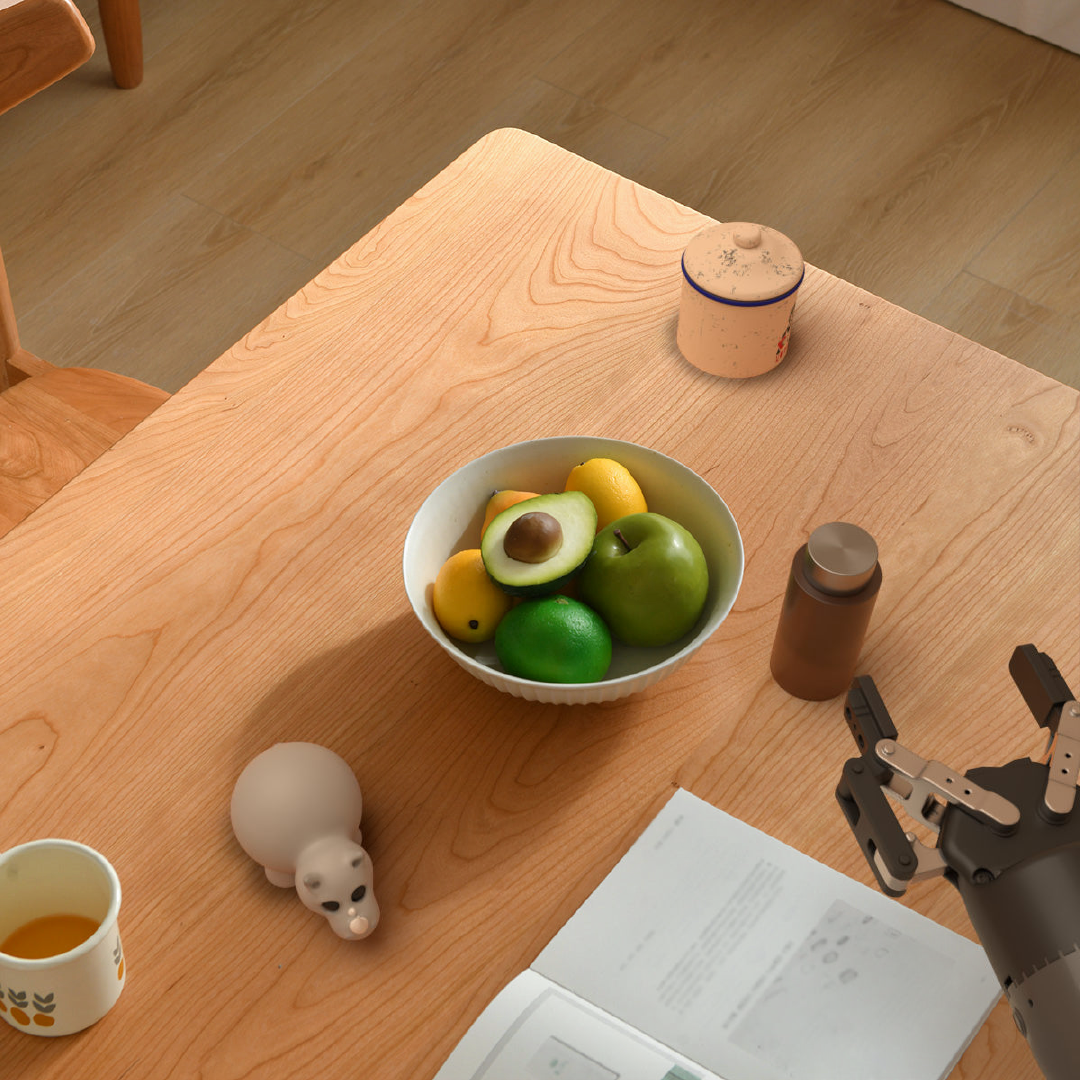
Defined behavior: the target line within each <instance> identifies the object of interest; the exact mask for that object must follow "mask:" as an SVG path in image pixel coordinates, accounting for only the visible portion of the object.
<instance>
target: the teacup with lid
mask: <svg viewBox="0 0 1080 1080" xmlns="http://www.w3.org/2000/svg"><path fill="white" fill-rule="evenodd" d="M680 265H681V271H682V282H681V292H680V300H679V301H680V303H679V312H678V320H677V321H678V322H677V331H676V342H677V347H678V349H679V351H680V353H681V354H682V356H683V358H685V359H686V360H687V361H688V362H689V363H690V364H691V365H693V366H694V367H696V368H697V369H698V370H700V371H703V372H705V373H707V374H710V375H713V376H716V377H721V378H726V379H727V378H729V379H747V378H752V377H757V376H760V375H763V374H766V373H768V372H770V371H771V370H773V369H774V368H777V366H778V365H780V363H781V362H782V361H783V360H784V358H785V356H786V355H787V352H788V347H789V341H790V335H791V331H792V325H793V319H794V315H795V308H796V304H797V299H798V293H799V288H800V287H801V285H802V283H803V281H804V278H805V273H806V272H805V271H806V267H805V262H804V257H803V255H802V253H801V251H800V249H799V248H798V246H797V245H796V244H795V243H794V241H792V239H791V238H789V237H788V236H786V235H785V234H784V233H782V232H780V231H779V230H776V229H775V228H772V227H770V226H767V225H763V224H760V223H759V224H758V223H755V222H745V221H732V222H724V223H718V224H715V225H712V226H709V227H707V228H705V229H703V230H701V231H700V232H698V233H697V234H696V235H695V236H694V237H692V239H691V240H690V241H689V242H688V243H687V245H686V247H685V248H684V250H683V253H682V256H681V259H680Z"/></svg>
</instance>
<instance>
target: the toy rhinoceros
mask: <svg viewBox="0 0 1080 1080" xmlns="http://www.w3.org/2000/svg"><path fill="white" fill-rule="evenodd" d="M362 796H363V795H362V791H361V787H360V784H359V781H358V779H357V777H356V774H355V773H354V772H353V770H352V768H351V767H350V766H349V764H348V763H347V762H346V761H345V759H343V758H342V757H341V756H340V755H339V754H337V753H336V752H334V751H333V750H331V749H329V748H327V747H325V746H322V745H321V744H318V743H313V742H307V741H290V742H289V741H288V742H276V743H274V744H273V745H272V746H271V747H270V748H267V749H265V750H264V751H262V752H260V753H259V754H258V755H256V756H255V757H254V758H253V759H251V760H250V762H249V763H248V764H247V765H246V766H245V767H244V769H243V770H242V772H241V773H240V775H239V777H238V778H237V780H236V783H235V784H234V788H233V791H232V794H231V799H230V808H229V809H230V821H231V827H232V830H233V833H234V835H235V837H236V839H237V842H238V844H239V845H240V846H241V848H242V849H243V850H244V852H245V853H246V854H247V855H248V856H249V857H250V858H251V859H252V860H254V862H256V863H257V864H259V865H260V866H262V867H264V873H265V877H266V878H267V880H268V882H270V883H271V884H272V885H273V886H275V887H278V888H281V889H288V888H294V887H295V889H296V892H297V893H296V894H297V896H298V898H299V899H300V901H301V902H302V904H303V905H304V906H305V907H306V908H307V909H308V910H310V911H311V912H314V913H316V914H318V915H321V916H323V917H325V918H326V919H327V922H328V923H329V926H330V927H331V929H332V931H333V932H334V934H336V935H337V936H338V937H339V938H341V939H344V940H346V941H347V940H348V941H360V940H363V939H366V937H368V936H370V934H372V933H373V932H374V930H375V929H376V928H377V926H378V924H379V921H380V918H381V911H380V906H379V904H378V901H377V898H376V896H375V893H374V866H373V861H372V859H371V856H370V855H369V853H368V852H367V851H366V850H365V848H363V846H362V842H363V836H362V835H363V834H362V830H361V829H360V827H359V826H360V824H361V821H362V815H363V797H362Z"/></svg>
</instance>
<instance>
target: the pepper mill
mask: <svg viewBox="0 0 1080 1080" xmlns="http://www.w3.org/2000/svg"><path fill="white" fill-rule="evenodd" d="M879 553H880V552H879V547H878V544H877V542H876V540H875V539H874V537H873V536H872V535H871V534H870V533H869V532H868V531H867V530H866V529H864V528H862V527H860V526H858V525H856V524H853V523H850V522H845V521H832V522H827V523H824V524H822V525H819V526H818V527H816V528H815V529H814V530H813V531H812V532H811V534H809V537H808V540H807V541H806V542H805V543H803V544H802V545H801V546H800V547H799V548H798V549H797V550H796V552H795V553H794V555H793V557H792V561H791V565H790V570H789V573H788V574H789V575H788V578H787V583H786V588H785V592H784V597H783V601H782V605H781V610H780V613H779V619H778V623H777V627H776V631H775V636H774V640H773V645H772V648H771V654H770V658H769V668H770V672H771V676H772V678H773V679H774V681H775V683H776V684H777V685H778V686H779V687H780V688H781V689H782V690H783V691H784V692H785V693H787V694H788V695H790V696H792V697H794V698H797V699H799V700H802V701H807V702H825V701H830V700H832V699H835V698H837V697H839V696H840V695H842V694H843V693H844V692H845V691H846V690H847V689H848V688H849V686H850V684H851V683H852V679H853V675H854V672H855V670H856V666H857V663H858V660H859V657H860V654H861V650H862V647H863V644H864V641H865V638H866V635H867V632H868V628H869V625H870V621H871V619H872V616H873V612H874V609H875V605H876V603H877V600H878V596H879V592H880V590H881V586H882V584H883V583H882V582H883V570H882V566H881V564H880V562H879V555H880V554H879Z"/></svg>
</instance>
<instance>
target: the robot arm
mask: <svg viewBox="0 0 1080 1080" xmlns="http://www.w3.org/2000/svg"><path fill="white" fill-rule="evenodd" d="M1007 668H1008V672H1009V674H1010V677H1011V678H1012V680H1013V682H1014V683H1015V685H1016V687H1017V689H1018V691H1019V693H1020V695H1021V696H1022V698H1023V700H1024V702H1025V703H1026V705H1027V707H1028V709H1029V710H1030V712H1031V715H1032V716H1033V718H1034V720H1035V722H1036V723H1037V726H1038V727H1039V729H1044V728H1048V729H1049V732H1048V735H1047V739H1046V744H1045V748H1044V752H1043V755H1042V756H1043V757H1042V760H1041V762H1038V761H1032V759H1031V757H1030V756H1026V757H1021V758H1016V759H1013V760H1011V761H1009V762H1007V763H1006V764H1003V765H1002V766H979V767H974V768H970V769H969V768H968V769H966V771H965V773H964V775H962V774H960V773H959V772H957V771H955V770H954V769H952V768H951V767H949V766H947V765H946V764H944V763H942V762H941V761H939V760H937V759H930V760H927V759H924V758H923V757H921V756H920V755H918V754H917V753H915V752H913V751H912V750H910V749H908V748H907V747H905V746H904V745H902V744H901V743H900V742H897V740H898V737H899V735H900V734H899V732H898V729H897V728H896V726H895V724H894V720H893V719H892V717H891V715H890V713H889V710H888V709H887V706H886V703H885V702H884V700H883V699H882V696H881V694H880V692H879V689H878V688H877V685H876V683H875V681H874V678H873V677H872V676H871V675H870V674H865V675H859V676H856V677H853V678H852V679H853V680H852V681H851V685H850V689H848V690H847V694H846V697H845V701H844V703H843V717H844V719H845V722H846V724H847V725H848V729H849V731H850V732H851V735H852V737H853V739H854V742H855V744H856V746H857V749H858V751H859V754H860V755H861V756H859V757H851V758H848V759H846V760H845V762H844V764H843V767H842V771H841V776H840V779H839V781H838V784H837V785H836V788H835V791H834V796H835V799H836V801H837V803H838V806H839V808H840V809H841V812H842V813H843V815H844V818H845V820H846V821H847V824H848V825H849V827H850V830H851V832H852V834H853V836H854V838H855V840H856V842H857V844H858V845H859V848H860V850H861V852H862V854H863V856H864V858H865V860H866V862H867V865H868V866H869V868H870V870H871V872H872V874H873V876H874V878H875V881H876V882H877V884H878V886H879V888H880V890H881V892H882V893H883V894H884V895H886V896H887V897H889V898H893V899H898V898H901V897H903V896H904V895H905V894H906V893H907V890H908V888H909V887H910V886H911V885H915V884H918V883H921V882H924V881H928V880H932V879H936V878H938V877H943V878H944V879H945V880H946V881H948V883H950V884H951V885H952V886H953V887H954V888H955V889H956V891H957V892H958V893H959V895H960V897H961V899H962V902H963V905H964V907H965V910H966V912H967V916H968V918H969V920H970V923H971V925H972V927H973V930H974V931H975V933H976V936H977V937H978V938H977V939H978V940H979V942H980V944H981V946H982V948H983V951H984V953H985V955H986V957H987V960H988V961H989V963H990V966H991V968H992V971H993V973H994V974H995V976H996V979H997V981H998V984H999V985H1000V987H1001V989H1002V990H1001V991H1002V992H1003V994H1004V996H1005V998H1006V1001H1007V1002H1008V1004H1009V1006H1010V1009H1011V1014H1012V1019H1013V1021H1014V1023H1015V1025H1016V1028H1017V1030H1018V1031H1019V1033H1020V1035H1021V1036H1022V1037H1023V1038H1024V1039H1025V1041H1026V1043H1027V1045H1028V1047H1029V1049H1030V1053H1031V1055H1032V1056H1033V1058H1034V1060H1035V1062H1036V1064H1037V1066H1038V1068H1039V1069H1040V1071H1041V1072H1042V1075H1043V1076H1044V1078H1045V1079H1046V1080H1080V785H1079V783H1078V778H1079V775H1080V701H1078V700H1077V698H1076V697H1075V695H1074V693H1073V692H1072V691H1071V689H1070V687H1069V685H1068V684H1067V682H1066V680H1065V678H1064V677H1063V676H1062V673H1061V672H1060V670H1059V669H1058V666H1057V665H1056V663H1055V660H1053V658H1051V656H1049V654H1047V653H1046V652H1045V651H1039V650H1038V648H1037V647H1036V645H1035V644H1034V643H1032V642H1031V643H1030V642H1029V643H1025V644H1020V645H1016V646H1015V648H1014V650H1013V653H1012V655H1011V657H1010V659H1009V662H1008V667H1007ZM935 794H936V795H938V796H940V797H942V798H943V799H945V800H946V804H945V805H943V804H942V803H941V802H939V801H938V800H937V799H936V797H935ZM886 796H887V797H889V798H891V799H892V800H894V801H895V802H897V803H898V804H900V805H901V806H902V807H903V810H904V811H905V814H906V815H908V816H909V817H910V818H911V819H913V820H914V821H916V822H917V823H919V824H921V825H922V826H924V827H926V828H927V829H928V830H930V831H931V832H933V833H935V834H936V835H937V840H936V843H935V847H934V848H932V847H928V846H926V845H924V843H922V842H921V841H920V839H919V838H918V837H917V835H916V833H914V832H913V831H904V829H903V827H902V826H901V824H900V822H899V819H898V818H897V816H896V814H895V812H894V810H893V808H892V806H891V804H890V803H889V801H888V799H887V797H886Z"/></svg>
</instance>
